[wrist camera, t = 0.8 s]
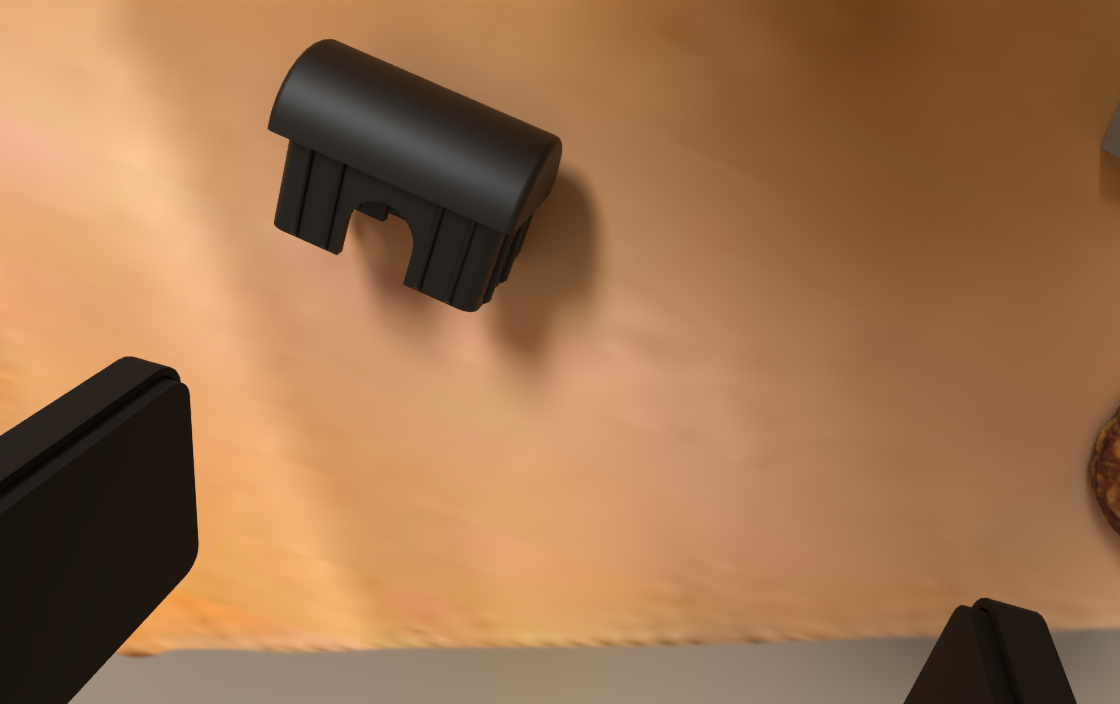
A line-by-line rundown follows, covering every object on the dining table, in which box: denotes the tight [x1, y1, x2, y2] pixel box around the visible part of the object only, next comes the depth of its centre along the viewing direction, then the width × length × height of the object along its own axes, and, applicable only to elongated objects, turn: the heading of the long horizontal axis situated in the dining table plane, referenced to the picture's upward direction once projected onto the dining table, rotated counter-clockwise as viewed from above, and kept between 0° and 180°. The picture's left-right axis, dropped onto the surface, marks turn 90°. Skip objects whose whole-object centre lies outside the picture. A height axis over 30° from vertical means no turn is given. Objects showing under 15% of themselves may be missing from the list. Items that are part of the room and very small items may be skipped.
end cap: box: [268, 39, 562, 312], centre depth 34 cm, size 10×7×7 cm
